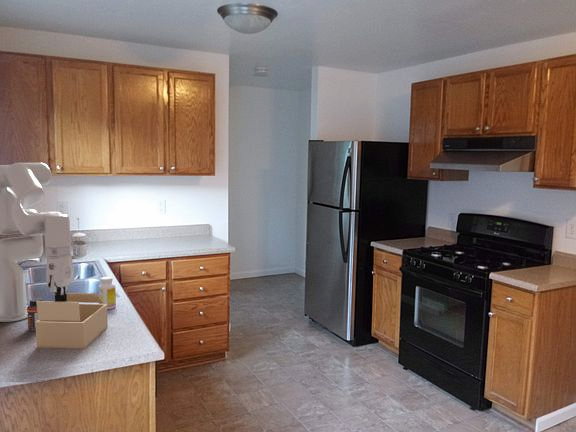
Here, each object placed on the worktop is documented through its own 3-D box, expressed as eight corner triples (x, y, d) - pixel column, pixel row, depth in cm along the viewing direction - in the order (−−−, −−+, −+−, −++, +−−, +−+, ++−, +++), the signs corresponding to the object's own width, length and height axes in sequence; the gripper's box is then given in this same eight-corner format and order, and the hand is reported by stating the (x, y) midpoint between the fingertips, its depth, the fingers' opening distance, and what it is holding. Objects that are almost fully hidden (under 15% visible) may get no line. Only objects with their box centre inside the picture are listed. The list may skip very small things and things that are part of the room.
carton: (36, 347, 157) (35, 322, 156) (65, 326, 177) (64, 303, 176) (84, 348, 157) (83, 322, 156) (107, 327, 177) (106, 304, 176)
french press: (76, 259, 289) (74, 218, 286) (66, 256, 296) (65, 217, 293) (91, 256, 297) (90, 217, 294) (81, 254, 304) (80, 215, 301)
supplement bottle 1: (25, 329, 174) (23, 299, 172) (41, 324, 178) (40, 295, 177) (32, 333, 170) (30, 302, 169) (49, 328, 175) (47, 299, 173)
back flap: (59, 293, 170) (60, 292, 170) (66, 302, 175) (66, 301, 175) (97, 294, 170) (98, 293, 170) (103, 302, 175) (103, 301, 175)
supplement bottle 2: (118, 304, 203) (117, 276, 202) (113, 309, 197) (112, 280, 195) (102, 304, 203) (101, 275, 201) (96, 309, 196) (95, 279, 195)
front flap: (38, 319, 156) (38, 320, 156) (37, 301, 155) (36, 301, 154) (80, 320, 156) (79, 320, 156) (78, 301, 155) (78, 302, 154)
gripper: (58, 256, 147) (61, 313, 149) (79, 247, 162) (82, 299, 164) (34, 256, 147) (38, 312, 149) (58, 247, 162) (60, 299, 164)
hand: (61, 305), depth 157 cm, fingers closed
